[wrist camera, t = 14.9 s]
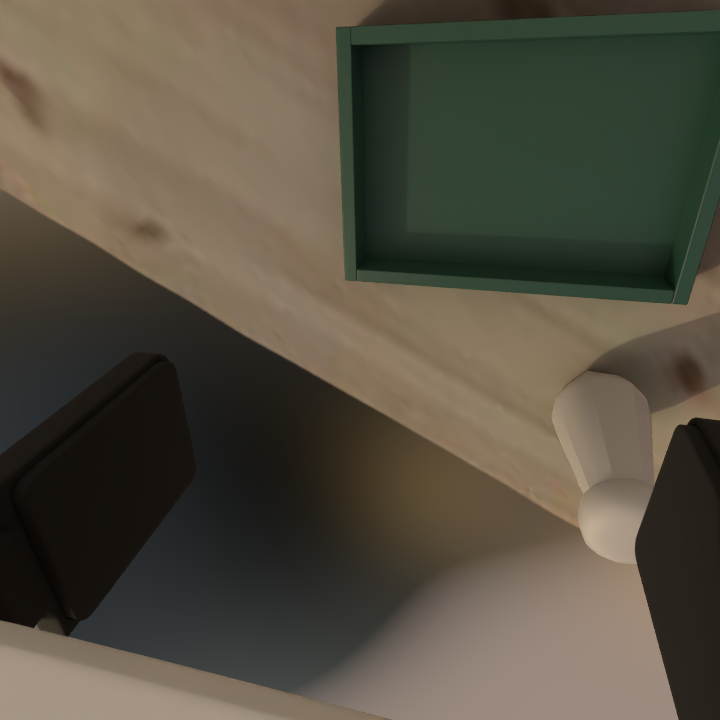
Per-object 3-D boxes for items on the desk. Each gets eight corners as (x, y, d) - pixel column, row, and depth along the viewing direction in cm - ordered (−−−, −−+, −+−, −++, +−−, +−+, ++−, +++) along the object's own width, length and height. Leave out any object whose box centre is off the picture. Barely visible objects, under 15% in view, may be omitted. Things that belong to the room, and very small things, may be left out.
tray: (356, 266, 35) (344, 280, 33) (350, 30, 29) (335, 27, 26) (673, 286, 31) (687, 305, 28) (752, 13, 24) (779, 6, 22)
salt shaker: (649, 423, 35) (710, 581, 24) (562, 438, 38) (581, 589, 27) (631, 349, 33) (688, 486, 22) (540, 370, 36) (551, 504, 25)
